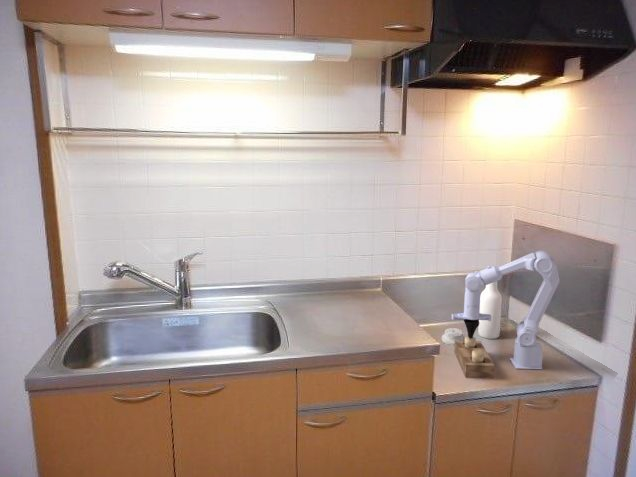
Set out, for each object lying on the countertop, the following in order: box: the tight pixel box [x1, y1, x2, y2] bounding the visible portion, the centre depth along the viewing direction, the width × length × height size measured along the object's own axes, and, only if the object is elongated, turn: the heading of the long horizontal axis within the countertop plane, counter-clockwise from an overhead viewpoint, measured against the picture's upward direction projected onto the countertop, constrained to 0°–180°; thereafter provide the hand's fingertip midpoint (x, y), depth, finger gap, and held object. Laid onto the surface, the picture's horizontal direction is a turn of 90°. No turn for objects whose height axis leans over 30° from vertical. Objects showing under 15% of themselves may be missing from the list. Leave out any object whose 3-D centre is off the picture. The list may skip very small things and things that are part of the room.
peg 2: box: [472, 350, 484, 363], centre depth 168 cm, size 4×4×5 cm
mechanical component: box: [441, 327, 466, 346], centre depth 195 cm, size 10×4×10 cm
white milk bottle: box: [477, 281, 503, 340], centre depth 196 cm, size 9×9×30 cm
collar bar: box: [453, 340, 496, 379], centre depth 174 cm, size 10×20×5 cm, turn 175°
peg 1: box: [464, 335, 477, 348], centre depth 179 cm, size 4×4×5 cm
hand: (470, 337), depth 179 cm, fingers closed
